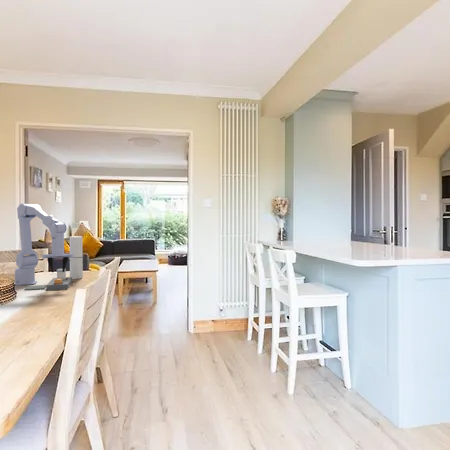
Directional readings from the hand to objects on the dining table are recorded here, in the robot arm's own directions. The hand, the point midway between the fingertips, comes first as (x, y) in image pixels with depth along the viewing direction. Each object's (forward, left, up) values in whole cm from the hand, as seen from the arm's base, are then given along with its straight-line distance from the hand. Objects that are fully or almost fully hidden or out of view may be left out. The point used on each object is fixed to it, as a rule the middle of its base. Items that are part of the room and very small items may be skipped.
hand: (58, 272), depth 188 cm
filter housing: (0, +7, -8) cm, 11 cm away
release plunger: (0, 0, -7) cm, 7 cm away
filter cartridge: (0, +12, -8) cm, 15 cm away
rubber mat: (-11, +3, -8) cm, 14 cm away
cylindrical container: (+6, +30, -9) cm, 32 cm away
